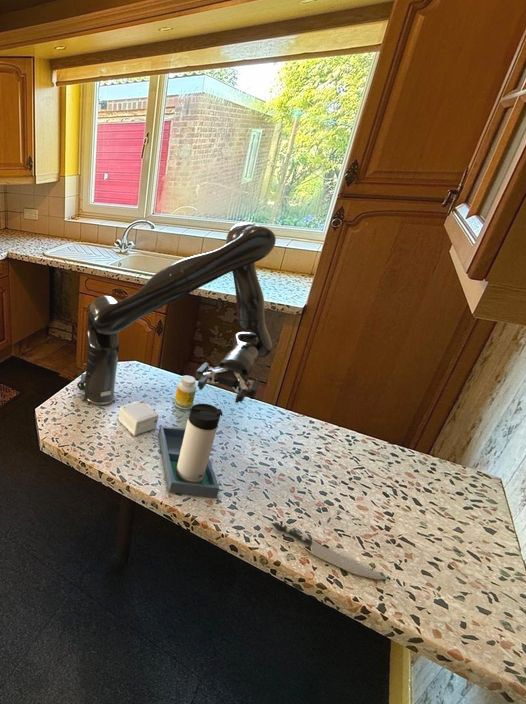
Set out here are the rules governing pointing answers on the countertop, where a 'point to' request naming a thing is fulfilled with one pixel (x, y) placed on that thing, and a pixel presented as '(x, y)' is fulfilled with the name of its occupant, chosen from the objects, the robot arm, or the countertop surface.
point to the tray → (171, 452)
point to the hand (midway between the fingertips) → (218, 392)
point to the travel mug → (197, 442)
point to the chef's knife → (333, 556)
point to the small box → (138, 417)
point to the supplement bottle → (185, 392)
